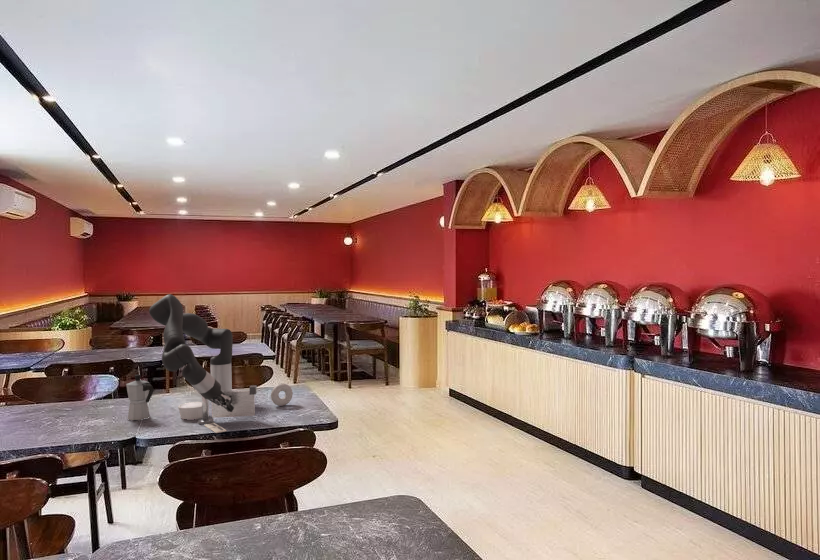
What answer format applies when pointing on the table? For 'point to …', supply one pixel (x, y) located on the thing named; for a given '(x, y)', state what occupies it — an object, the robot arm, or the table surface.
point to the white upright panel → (240, 402)
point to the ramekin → (191, 410)
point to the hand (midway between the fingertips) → (231, 409)
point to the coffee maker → (139, 398)
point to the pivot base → (205, 421)
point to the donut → (277, 390)
